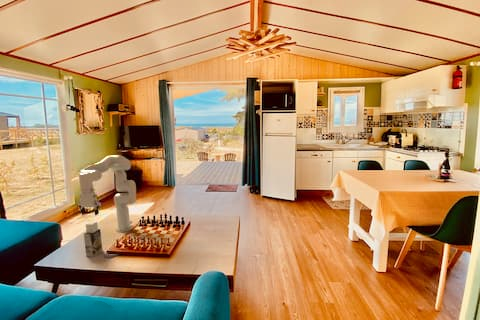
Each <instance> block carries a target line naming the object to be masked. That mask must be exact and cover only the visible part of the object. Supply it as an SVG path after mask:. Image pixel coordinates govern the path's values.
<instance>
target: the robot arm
mask: <svg viewBox="0 0 480 320" xmlns="http://www.w3.org/2000/svg"><path fill="white" fill-rule="evenodd" d="M131 167H132V163H131V161H130V160H129V159H127V158H126V156H123V155H121V154H115V155H113V154H112V155H111V154H110V155H107V156H106V157H104V158H103V159H102V160H100V161H99V162H96V163H94V164H92V165H88V166H85V167H84V168H83V169H82V170H81V171H80V172H79V174H78V179H79V186H80V196H79V197H80V198H79V199H80V200H79V201H78V202H77V203H76V205H77V206H78V207H79V209H80V210H81V216H85V215H86V214H87V210H86V208H93V209H94V215H95V216H98V215H99V214H100V212H99V209H100V207H101V205H102V202H100V201H98V197H97V193H96V191H95V188H94V184H93V182H97V181H99V180H101V179H102V176H103V173H106V172H108V171H109V170H110V169H111V171H112V172H113V173H114V175H115V189H116V191H117V192H121V193H116V194H115V195H114V196H113V202H114V205H115V210H116V222H117V228H116V232H119V233H124V232H128V231H130V230H132V229H133V225H131V224H132V223H133V221H132V220H130V212H129V207H128V205H134V204H135V203H136V201H137V186H136V182H135V181H134V180H132V179H130V180H129V179H127V173H126V171H128V170H130V169H131Z"/></svg>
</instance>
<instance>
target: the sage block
mask: <svg viewBox="0 0 480 320" xmlns="http://www.w3.org/2000/svg"><path fill="white" fill-rule="evenodd" d="M98 226H99V225H98V221H89V222H87V223H86V224H85V230H86V233H94V232H96V231H97V230H98V229H99V227H98Z"/></svg>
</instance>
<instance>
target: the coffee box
mask: <svg viewBox="0 0 480 320" xmlns="http://www.w3.org/2000/svg"><path fill="white" fill-rule="evenodd" d="M83 240H84V247H85V256H86V257H95V256H97V255H98V254H100V253H101V252H102V251H103V244H102V243H103V242H102V233H101V229H99V228H98V230H97V231H96V232H94V233H87V232H85V233H84V234H83Z"/></svg>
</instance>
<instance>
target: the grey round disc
mask: <svg viewBox="0 0 480 320" xmlns="http://www.w3.org/2000/svg"><path fill="white" fill-rule="evenodd" d="M108 253H109V252H107V253H105V254H103V258H105V259H113V258H115V257H117V256H119V253H118V254H108Z"/></svg>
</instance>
